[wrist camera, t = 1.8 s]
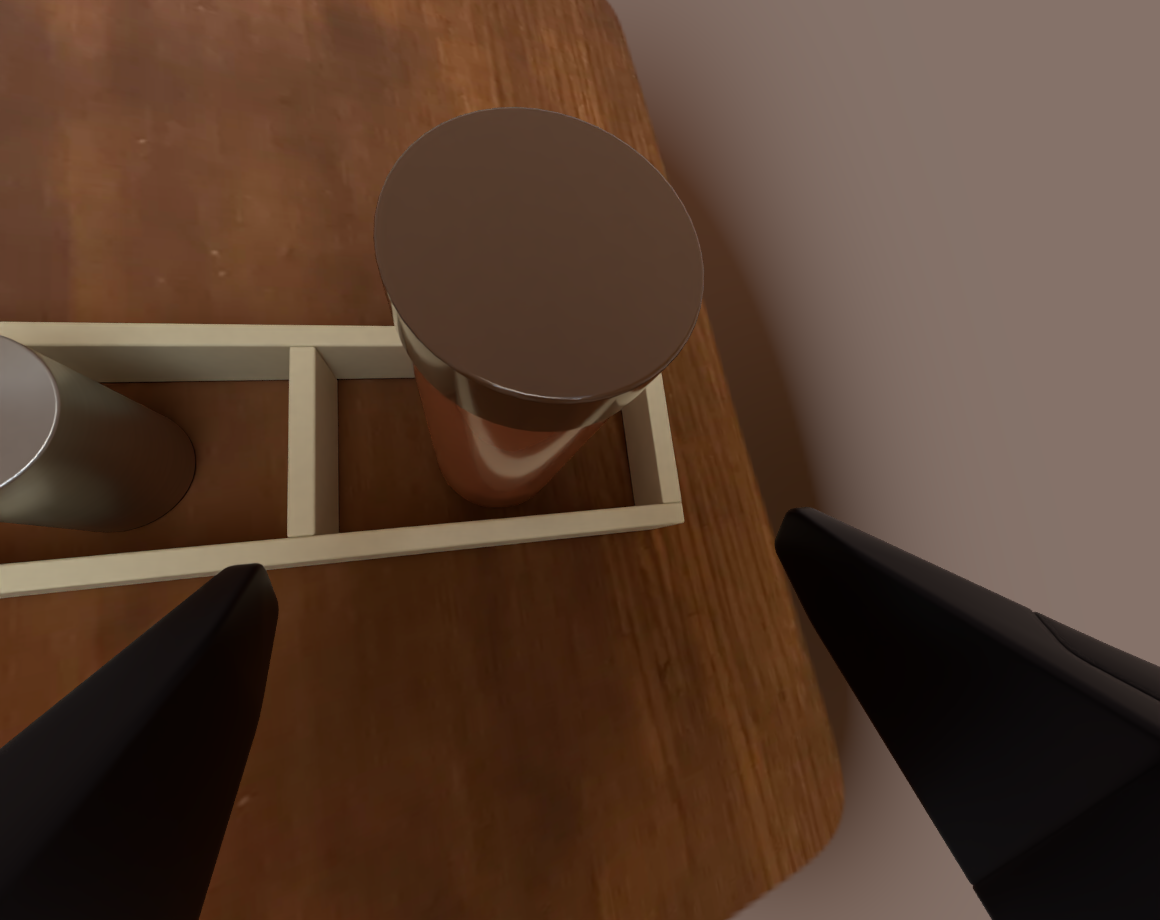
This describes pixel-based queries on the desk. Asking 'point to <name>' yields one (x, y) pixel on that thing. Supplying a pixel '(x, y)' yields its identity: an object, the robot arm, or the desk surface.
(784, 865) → the desk surface
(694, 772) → the desk surface
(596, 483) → the desk surface
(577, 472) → the desk surface
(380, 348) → the spice rack
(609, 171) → the spice jar
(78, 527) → the cylinder
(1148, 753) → the robot arm
